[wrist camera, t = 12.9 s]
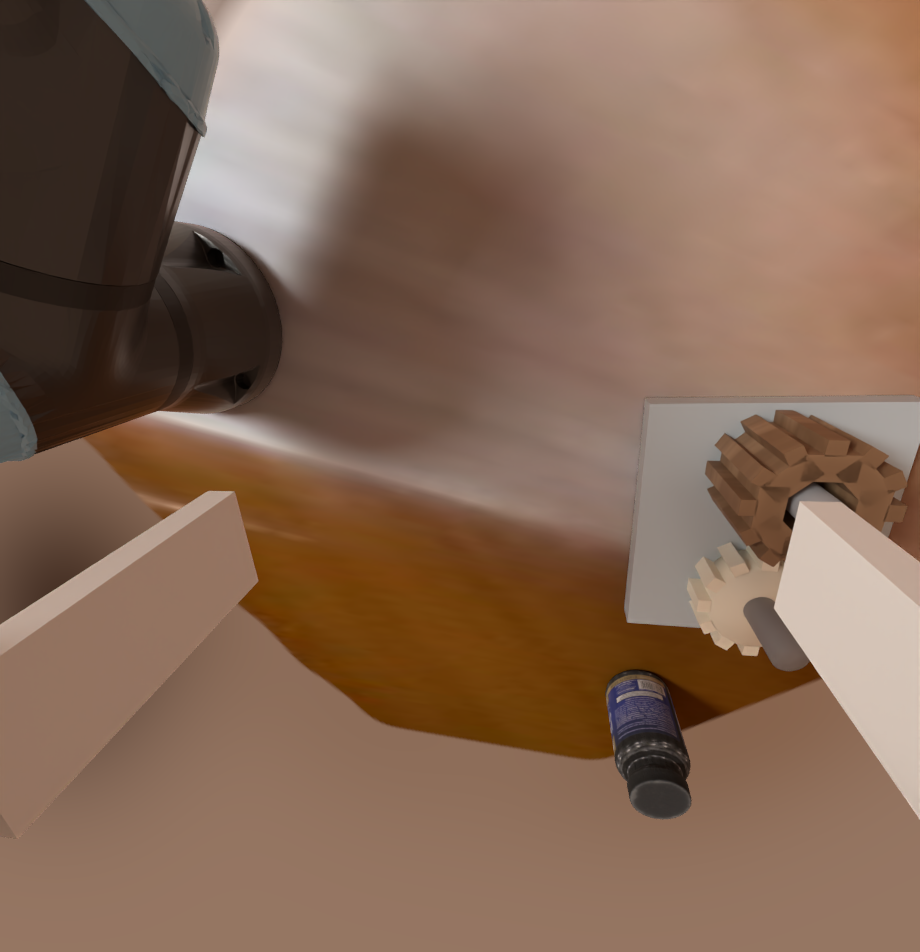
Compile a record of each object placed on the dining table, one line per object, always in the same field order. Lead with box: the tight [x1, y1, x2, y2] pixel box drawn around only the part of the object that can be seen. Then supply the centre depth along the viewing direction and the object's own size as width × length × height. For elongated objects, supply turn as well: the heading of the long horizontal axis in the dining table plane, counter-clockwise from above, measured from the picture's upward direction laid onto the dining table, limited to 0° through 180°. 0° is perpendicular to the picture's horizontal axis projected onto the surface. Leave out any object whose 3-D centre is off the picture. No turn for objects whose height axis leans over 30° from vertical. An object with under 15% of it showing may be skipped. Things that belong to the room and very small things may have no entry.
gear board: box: [624, 395, 920, 671], centre depth 34 cm, size 18×20×10 cm
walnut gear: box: [705, 410, 908, 567], centre depth 32 cm, size 9×9×7 cm
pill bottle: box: [605, 670, 691, 819], centre depth 43 cm, size 6×6×11 cm
